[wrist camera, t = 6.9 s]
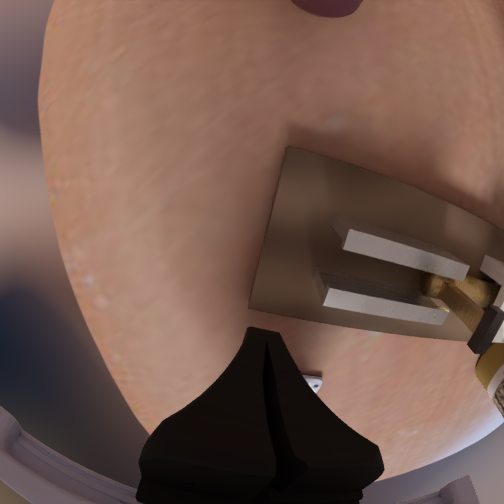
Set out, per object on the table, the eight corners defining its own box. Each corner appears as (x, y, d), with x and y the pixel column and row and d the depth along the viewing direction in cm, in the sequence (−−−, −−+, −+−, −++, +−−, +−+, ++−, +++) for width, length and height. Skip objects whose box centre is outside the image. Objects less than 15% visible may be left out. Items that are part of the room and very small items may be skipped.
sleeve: (420, 300, 20) (442, 325, 16) (313, 277, 20) (322, 305, 16) (441, 247, 18) (469, 266, 14) (332, 213, 18) (349, 228, 14)
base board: (475, 335, 23) (482, 342, 21) (249, 298, 22) (248, 308, 21) (517, 240, 19) (525, 244, 17) (286, 146, 18) (288, 146, 17)
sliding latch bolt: (488, 306, 19) (535, 352, 11) (415, 290, 19) (470, 353, 11) (499, 281, 18) (551, 323, 10) (428, 257, 18) (494, 311, 10)
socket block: (482, 319, 20) (505, 342, 16) (458, 315, 20) (482, 341, 16) (507, 264, 18) (534, 282, 14) (485, 254, 18) (515, 273, 14)
